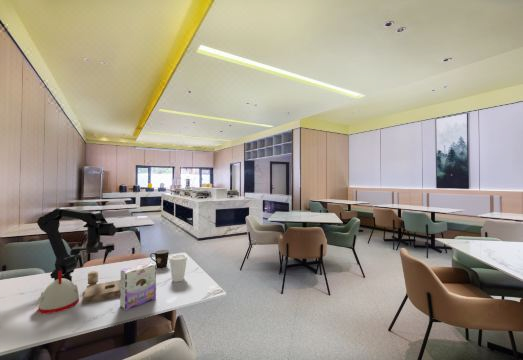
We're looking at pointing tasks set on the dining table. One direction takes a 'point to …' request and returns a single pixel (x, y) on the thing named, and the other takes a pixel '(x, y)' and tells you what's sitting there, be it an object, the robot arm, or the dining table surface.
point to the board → (102, 291)
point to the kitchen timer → (58, 296)
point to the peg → (92, 277)
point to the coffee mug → (161, 258)
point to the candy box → (137, 285)
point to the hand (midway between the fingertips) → (93, 265)
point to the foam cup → (178, 267)
